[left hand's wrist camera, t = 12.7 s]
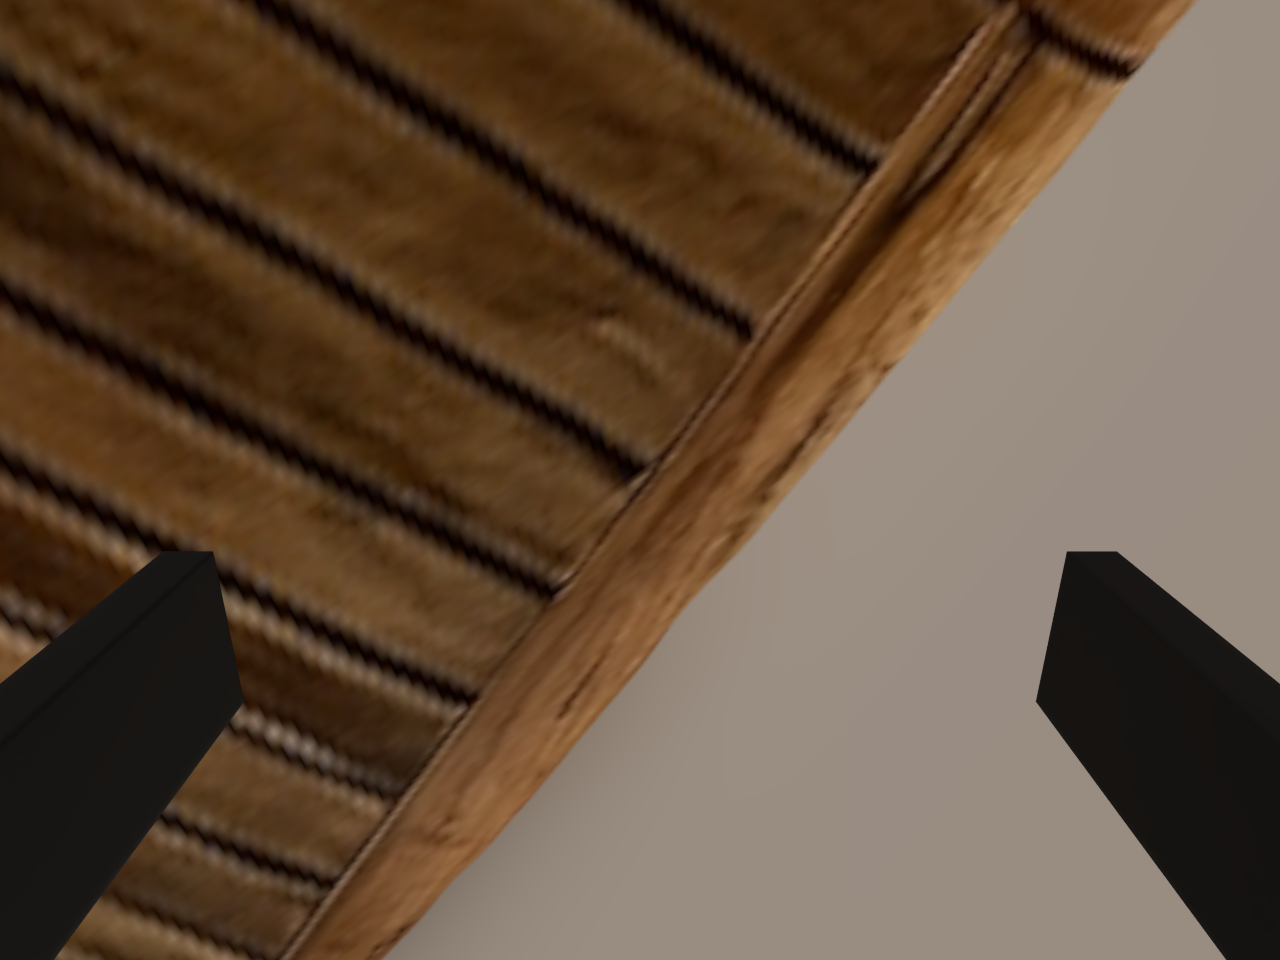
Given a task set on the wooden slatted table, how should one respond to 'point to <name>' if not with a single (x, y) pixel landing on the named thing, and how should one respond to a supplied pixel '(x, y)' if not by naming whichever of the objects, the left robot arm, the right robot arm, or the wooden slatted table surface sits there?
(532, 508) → the wooden slatted table surface
